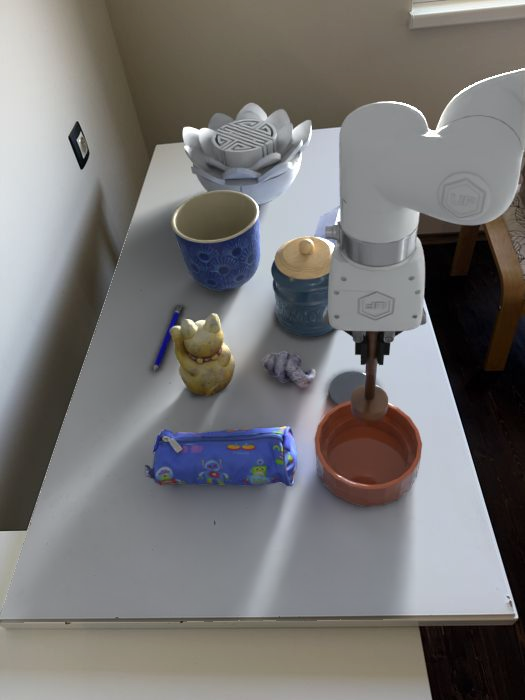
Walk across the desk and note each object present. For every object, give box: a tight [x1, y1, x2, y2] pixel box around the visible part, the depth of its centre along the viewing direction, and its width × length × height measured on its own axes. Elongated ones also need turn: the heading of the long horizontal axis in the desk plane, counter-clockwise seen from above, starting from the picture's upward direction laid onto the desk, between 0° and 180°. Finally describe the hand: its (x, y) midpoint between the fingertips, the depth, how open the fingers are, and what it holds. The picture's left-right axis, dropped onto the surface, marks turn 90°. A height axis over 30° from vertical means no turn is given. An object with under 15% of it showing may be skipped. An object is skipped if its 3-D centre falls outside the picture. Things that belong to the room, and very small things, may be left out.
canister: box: [270, 236, 335, 338], centre depth 101 cm, size 13×13×18 cm
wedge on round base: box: [313, 205, 340, 245], centre depth 118 cm, size 9×7×13 cm
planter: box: [170, 190, 261, 292], centre depth 112 cm, size 17×17×15 cm
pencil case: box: [144, 425, 298, 487], centre depth 83 cm, size 22×9×10 cm, turn 87°
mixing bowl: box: [314, 401, 423, 507], centre depth 83 cm, size 15×15×6 cm
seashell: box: [261, 351, 316, 388], centre depth 96 cm, size 5×5×10 cm
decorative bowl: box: [182, 102, 312, 205], centre depth 132 cm, size 30×30×15 cm
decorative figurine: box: [169, 312, 236, 397], centre depth 93 cm, size 10×8×15 cm
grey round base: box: [329, 370, 365, 406], centre depth 94 cm, size 8×8×1 cm
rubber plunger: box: [351, 331, 389, 423], centre depth 71 cm, size 5×5×16 cm
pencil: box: [153, 304, 182, 372], centre depth 107 cm, size 17×1×1 cm, turn 170°
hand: (371, 355), depth 69 cm, fingers closed on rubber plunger, 1 cm apart
